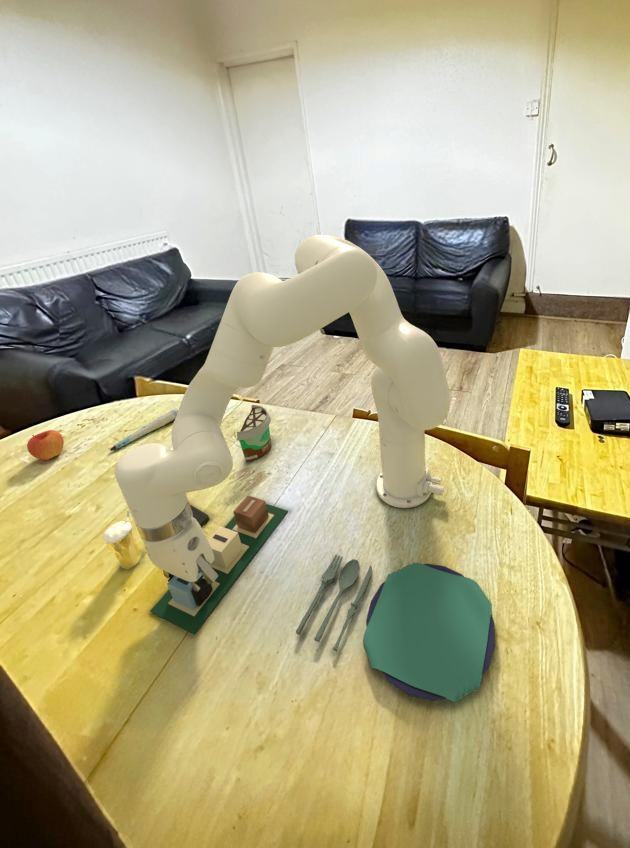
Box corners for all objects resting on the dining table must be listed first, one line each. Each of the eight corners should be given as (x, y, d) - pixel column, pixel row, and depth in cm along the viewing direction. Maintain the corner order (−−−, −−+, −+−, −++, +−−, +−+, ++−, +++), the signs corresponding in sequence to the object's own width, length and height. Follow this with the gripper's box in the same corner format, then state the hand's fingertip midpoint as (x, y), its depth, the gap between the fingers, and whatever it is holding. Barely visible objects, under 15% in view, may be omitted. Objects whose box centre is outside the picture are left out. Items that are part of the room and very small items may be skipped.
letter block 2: (269, 516, 86) (265, 500, 84) (255, 533, 83) (250, 517, 81) (251, 510, 88) (247, 494, 86) (237, 527, 84) (232, 511, 82)
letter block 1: (242, 548, 80) (237, 531, 78) (226, 569, 76) (220, 552, 74) (224, 541, 81) (219, 525, 79) (207, 561, 78) (202, 544, 76)
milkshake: (153, 550, 81) (137, 513, 77) (130, 575, 76) (112, 537, 72) (135, 544, 82) (119, 508, 78) (112, 568, 78) (93, 531, 74)
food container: (268, 465, 101) (261, 432, 97) (244, 466, 101) (235, 433, 97) (281, 433, 112) (274, 402, 108) (258, 434, 113) (251, 403, 108)
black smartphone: (188, 533, 83) (159, 515, 88) (189, 536, 83) (160, 517, 88) (209, 515, 87) (180, 498, 92) (210, 518, 87) (181, 501, 92)
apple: (73, 452, 110) (62, 428, 107) (41, 469, 105) (28, 444, 101) (61, 443, 114) (50, 420, 111) (30, 460, 108) (17, 435, 105)
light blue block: (212, 586, 73) (206, 568, 71) (193, 610, 69) (186, 592, 67) (193, 577, 75) (187, 560, 73) (173, 601, 71) (166, 583, 69)
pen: (176, 414, 124) (173, 406, 123) (182, 417, 122) (179, 409, 121) (108, 451, 110) (104, 442, 109) (113, 455, 108) (109, 446, 107)
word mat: (287, 511, 88) (287, 510, 88) (194, 634, 66) (193, 632, 66) (250, 499, 92) (250, 498, 91) (150, 612, 70) (149, 610, 70)
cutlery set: (483, 734, 53) (484, 725, 52) (286, 648, 64) (284, 639, 63) (502, 591, 70) (503, 582, 69) (343, 541, 80) (342, 533, 79)
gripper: (223, 513, 64) (246, 589, 72) (147, 486, 71) (175, 559, 78) (185, 554, 58) (215, 632, 66) (105, 520, 64) (140, 595, 72)
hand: (193, 592), depth 72 cm, fingers closed on light blue block, 4 cm apart
